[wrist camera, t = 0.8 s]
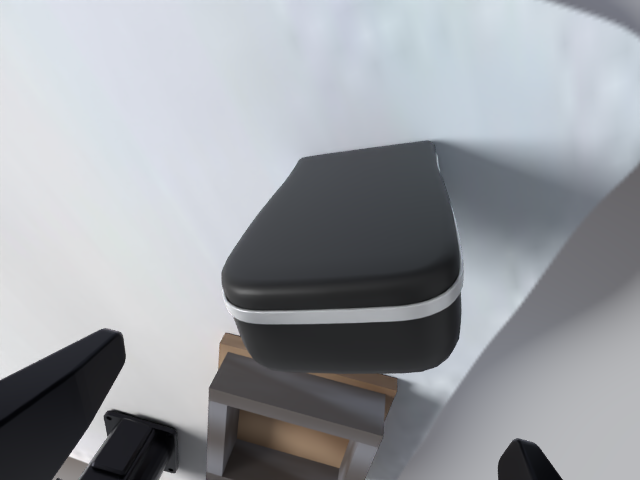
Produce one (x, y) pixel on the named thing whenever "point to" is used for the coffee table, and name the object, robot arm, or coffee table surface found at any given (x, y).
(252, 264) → the battery charger
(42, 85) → the coffee table surface
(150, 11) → the coffee table surface
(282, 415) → the dock
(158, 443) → the robot arm
